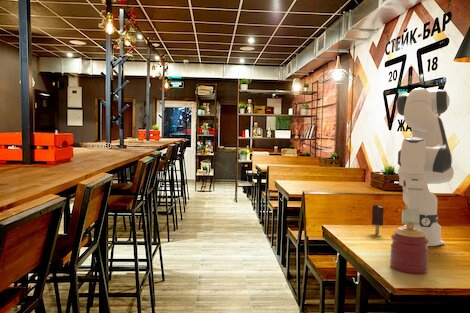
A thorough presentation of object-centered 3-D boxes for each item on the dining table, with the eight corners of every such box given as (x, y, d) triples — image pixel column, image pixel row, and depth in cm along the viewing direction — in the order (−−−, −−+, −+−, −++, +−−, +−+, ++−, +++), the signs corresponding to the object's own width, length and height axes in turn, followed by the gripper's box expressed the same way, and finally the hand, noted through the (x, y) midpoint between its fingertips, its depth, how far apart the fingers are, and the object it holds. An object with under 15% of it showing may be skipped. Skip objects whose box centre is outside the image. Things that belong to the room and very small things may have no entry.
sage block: (401, 223, 147) (401, 212, 149) (417, 225, 146) (417, 214, 148) (403, 220, 144) (403, 209, 146) (419, 222, 142) (419, 210, 144)
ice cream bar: (382, 234, 196) (383, 205, 195) (382, 235, 195) (383, 205, 194) (371, 233, 199) (373, 204, 198) (371, 233, 197) (372, 204, 196)
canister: (432, 276, 138) (434, 228, 137) (394, 274, 140) (396, 226, 139) (421, 264, 151) (423, 220, 150) (386, 262, 153) (388, 218, 152)
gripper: (399, 177, 155) (398, 211, 155) (406, 183, 135) (405, 223, 136) (416, 178, 153) (415, 212, 154) (426, 184, 133) (424, 224, 134)
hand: (410, 217), depth 145 cm, fingers open, 8 cm apart
